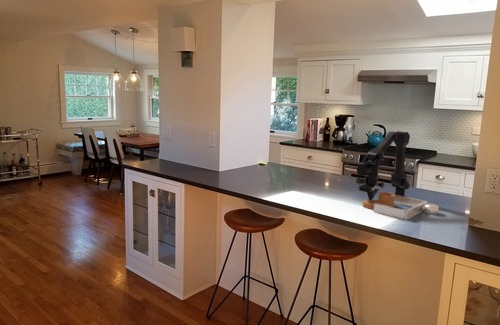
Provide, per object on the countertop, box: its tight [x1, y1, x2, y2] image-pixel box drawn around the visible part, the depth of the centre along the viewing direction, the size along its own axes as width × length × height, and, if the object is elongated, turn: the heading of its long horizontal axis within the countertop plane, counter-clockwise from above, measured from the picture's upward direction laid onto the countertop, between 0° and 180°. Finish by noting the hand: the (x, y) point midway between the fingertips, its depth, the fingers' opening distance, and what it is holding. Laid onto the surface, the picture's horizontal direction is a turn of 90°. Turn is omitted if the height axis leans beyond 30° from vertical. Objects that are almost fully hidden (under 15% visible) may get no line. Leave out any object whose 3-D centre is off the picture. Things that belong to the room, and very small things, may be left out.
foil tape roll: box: [423, 203, 439, 215], centre depth 197 cm, size 6×6×4 cm
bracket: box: [361, 191, 395, 210], centre depth 206 cm, size 18×8×7 cm, turn 105°
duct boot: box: [373, 195, 428, 221], centre depth 199 cm, size 26×17×4 cm, turn 136°
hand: (370, 201), depth 211 cm, fingers closed
